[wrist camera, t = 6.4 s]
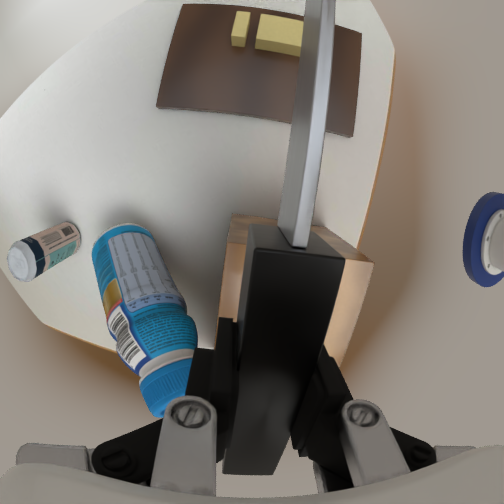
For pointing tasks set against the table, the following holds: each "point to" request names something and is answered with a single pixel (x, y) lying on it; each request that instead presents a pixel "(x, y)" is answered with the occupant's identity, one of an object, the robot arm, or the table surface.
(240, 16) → the butter slice
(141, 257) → the blue jar
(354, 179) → the table surface
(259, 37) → the butter stick
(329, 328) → the bread box
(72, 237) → the beige cylinder
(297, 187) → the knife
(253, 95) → the board
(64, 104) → the table surface
